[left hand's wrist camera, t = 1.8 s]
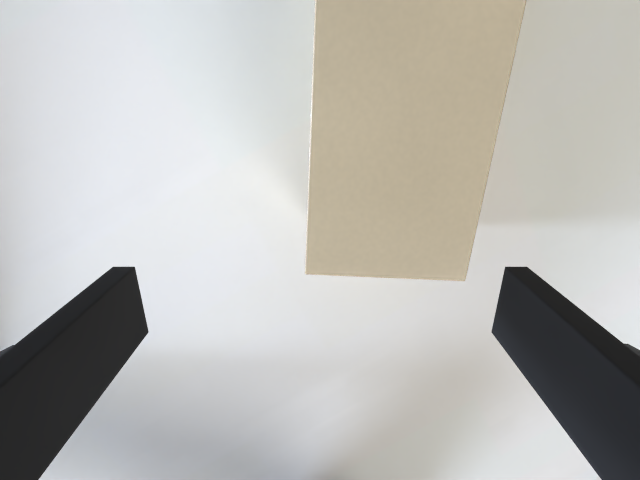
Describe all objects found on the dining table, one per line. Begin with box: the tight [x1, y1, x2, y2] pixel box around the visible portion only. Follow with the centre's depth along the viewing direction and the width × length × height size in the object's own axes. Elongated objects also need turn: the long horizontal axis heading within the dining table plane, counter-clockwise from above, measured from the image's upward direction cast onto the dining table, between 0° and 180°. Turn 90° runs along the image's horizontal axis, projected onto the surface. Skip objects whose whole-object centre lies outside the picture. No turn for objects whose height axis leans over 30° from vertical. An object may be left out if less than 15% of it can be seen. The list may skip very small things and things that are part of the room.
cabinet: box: [305, 0, 526, 281], centre depth 24 cm, size 20×10×11 cm, turn 177°
